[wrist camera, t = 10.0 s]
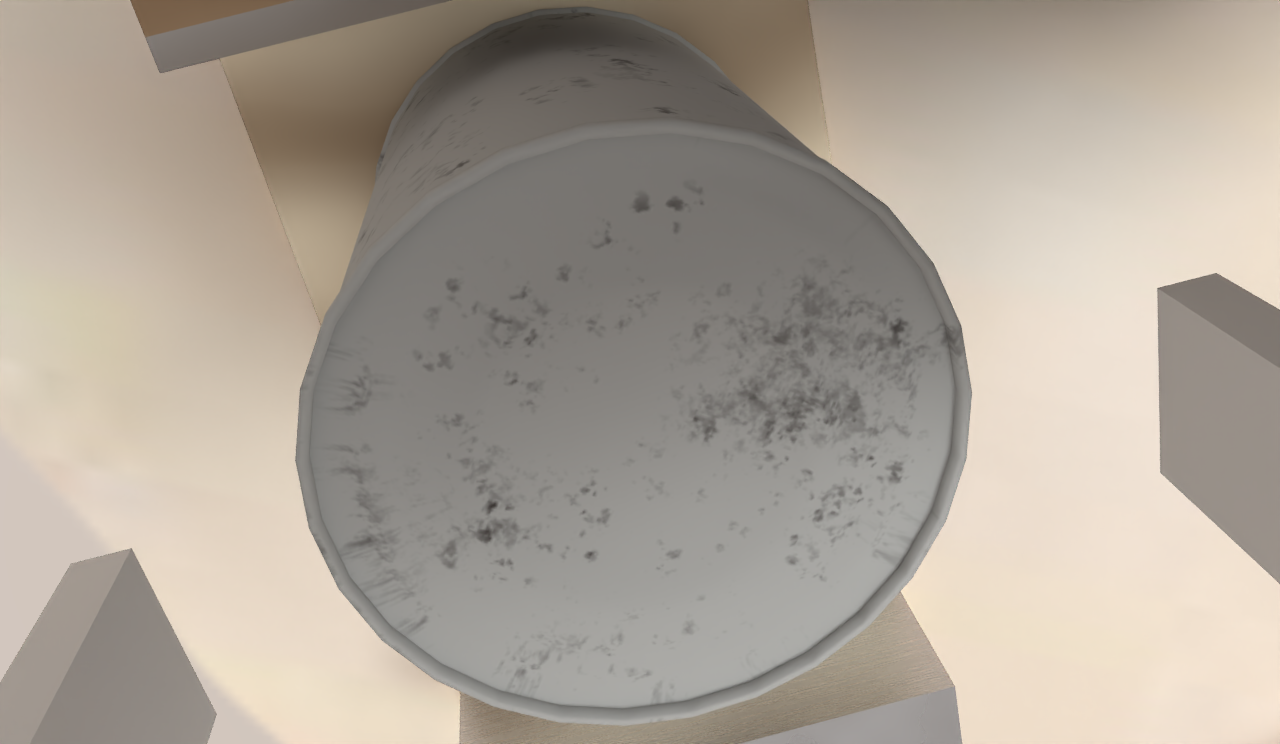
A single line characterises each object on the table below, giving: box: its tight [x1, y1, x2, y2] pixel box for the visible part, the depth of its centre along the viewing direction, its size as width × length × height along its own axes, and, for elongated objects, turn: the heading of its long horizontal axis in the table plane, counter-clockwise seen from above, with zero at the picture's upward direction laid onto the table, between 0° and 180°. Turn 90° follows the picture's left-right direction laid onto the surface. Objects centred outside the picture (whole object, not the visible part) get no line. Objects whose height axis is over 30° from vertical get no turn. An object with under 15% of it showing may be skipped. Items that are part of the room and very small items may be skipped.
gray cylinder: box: [295, 6, 972, 726], centre depth 21 cm, size 10×10×12 cm
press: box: [130, 0, 832, 694], centre depth 26 cm, size 28×13×7 cm, turn 13°
